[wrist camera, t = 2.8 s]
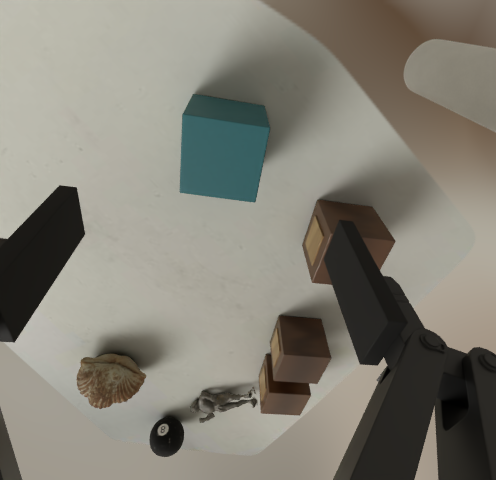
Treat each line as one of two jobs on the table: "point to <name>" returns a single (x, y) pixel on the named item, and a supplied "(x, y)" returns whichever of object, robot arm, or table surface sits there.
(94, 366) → the seashell
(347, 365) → the table surface
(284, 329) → the walnut block
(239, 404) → the figurine
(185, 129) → the teal block
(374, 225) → the walnut block
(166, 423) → the billiard ball
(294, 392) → the walnut block
